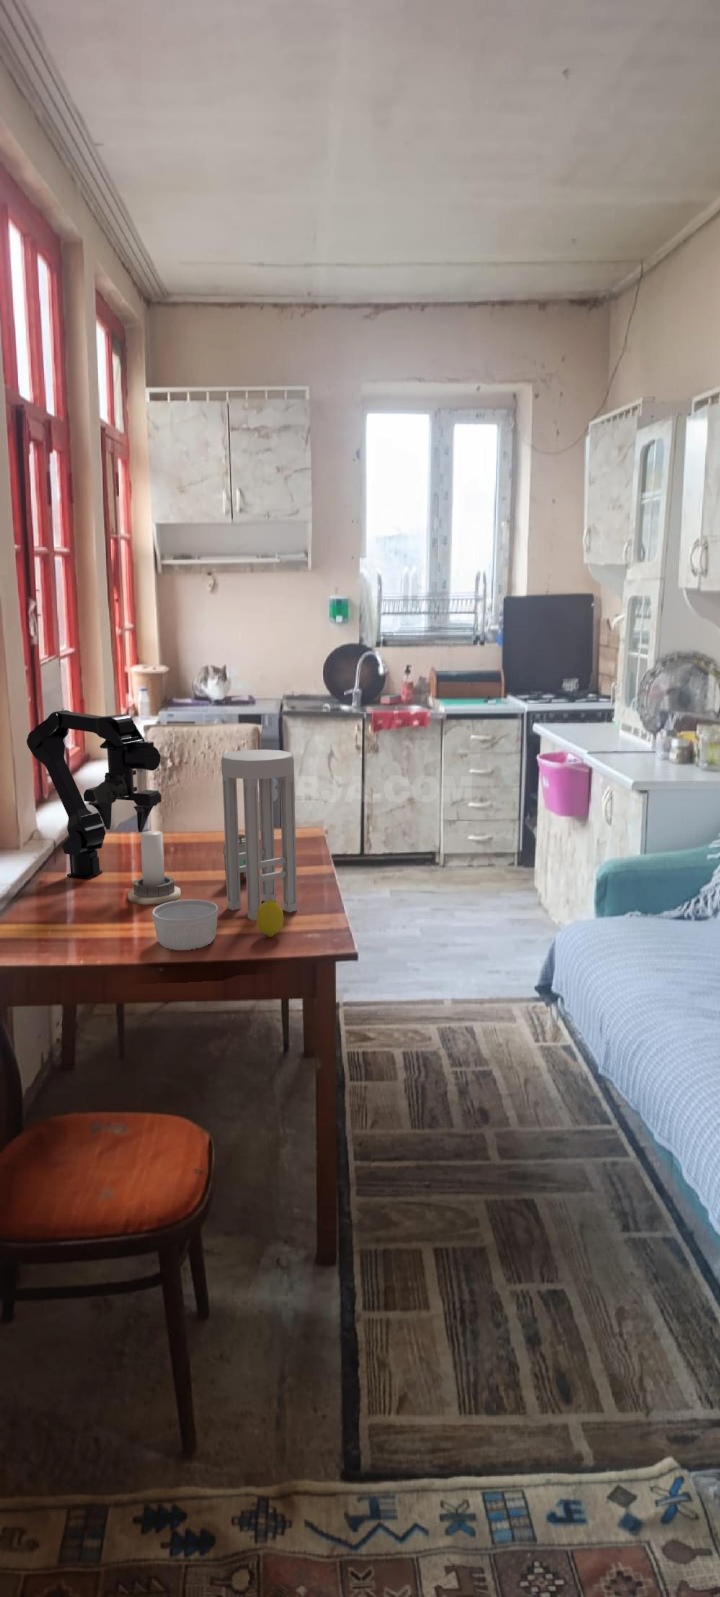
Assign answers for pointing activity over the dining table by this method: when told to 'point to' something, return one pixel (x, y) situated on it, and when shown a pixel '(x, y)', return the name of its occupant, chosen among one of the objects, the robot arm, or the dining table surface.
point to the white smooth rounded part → (152, 858)
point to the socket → (154, 892)
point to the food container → (241, 861)
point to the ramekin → (185, 924)
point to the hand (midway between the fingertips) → (124, 830)
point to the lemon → (269, 918)
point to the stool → (265, 769)
